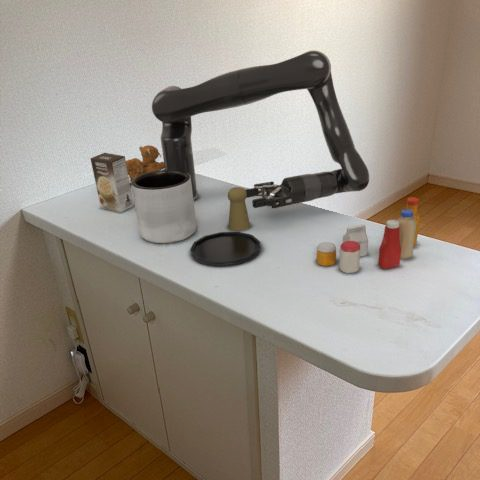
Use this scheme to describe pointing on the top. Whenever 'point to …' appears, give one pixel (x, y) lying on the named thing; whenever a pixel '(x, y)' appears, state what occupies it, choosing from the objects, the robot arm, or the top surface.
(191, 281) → the top surface
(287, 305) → the top surface
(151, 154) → the stuffed squirrel
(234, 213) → the cork
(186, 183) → the planter
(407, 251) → the toy food
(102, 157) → the coffee box
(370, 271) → the top surface
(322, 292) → the top surface
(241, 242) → the metal plate
